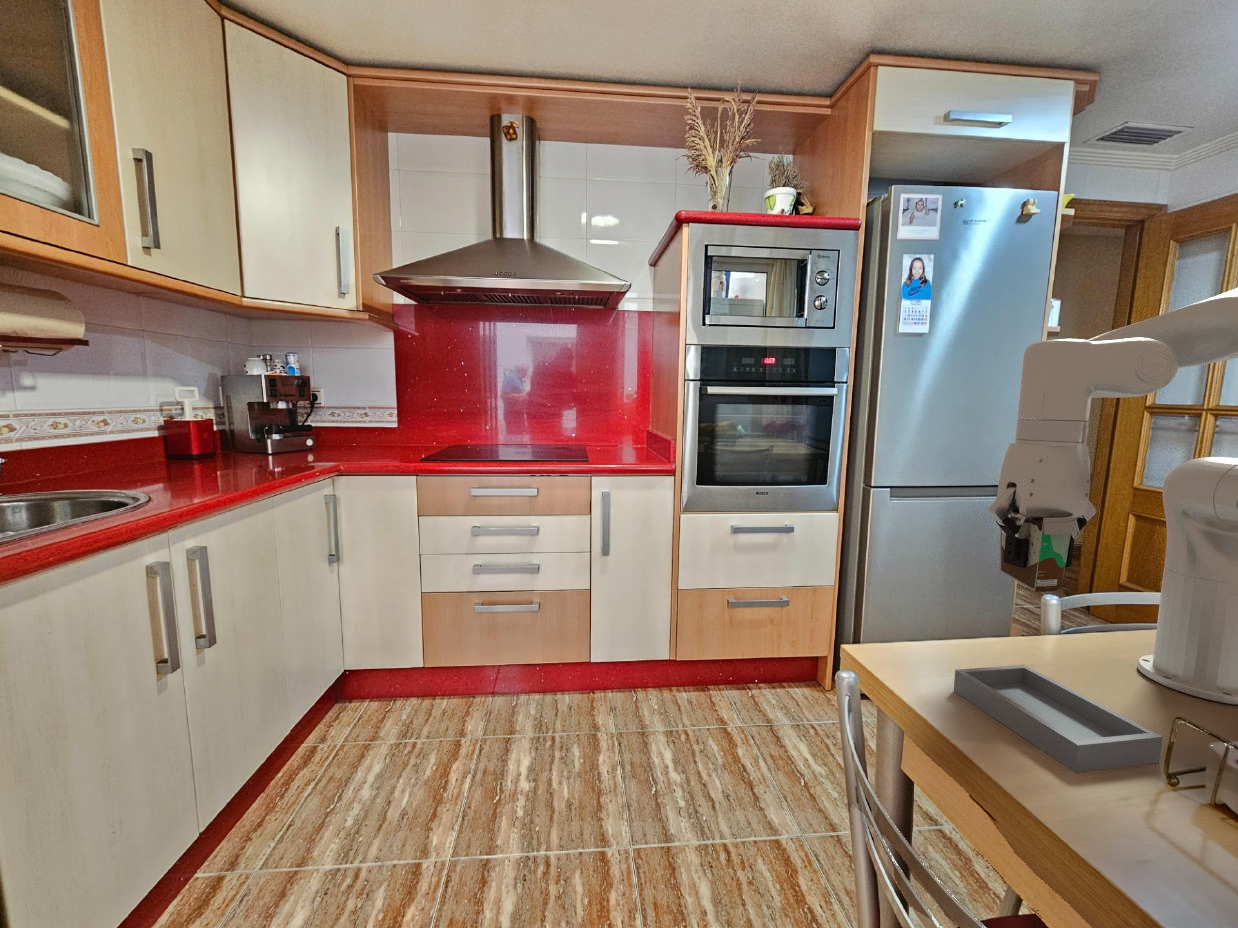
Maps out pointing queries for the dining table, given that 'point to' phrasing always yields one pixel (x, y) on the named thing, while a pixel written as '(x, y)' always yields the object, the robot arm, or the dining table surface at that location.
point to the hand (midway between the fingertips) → (1036, 563)
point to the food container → (1042, 553)
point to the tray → (1058, 718)
